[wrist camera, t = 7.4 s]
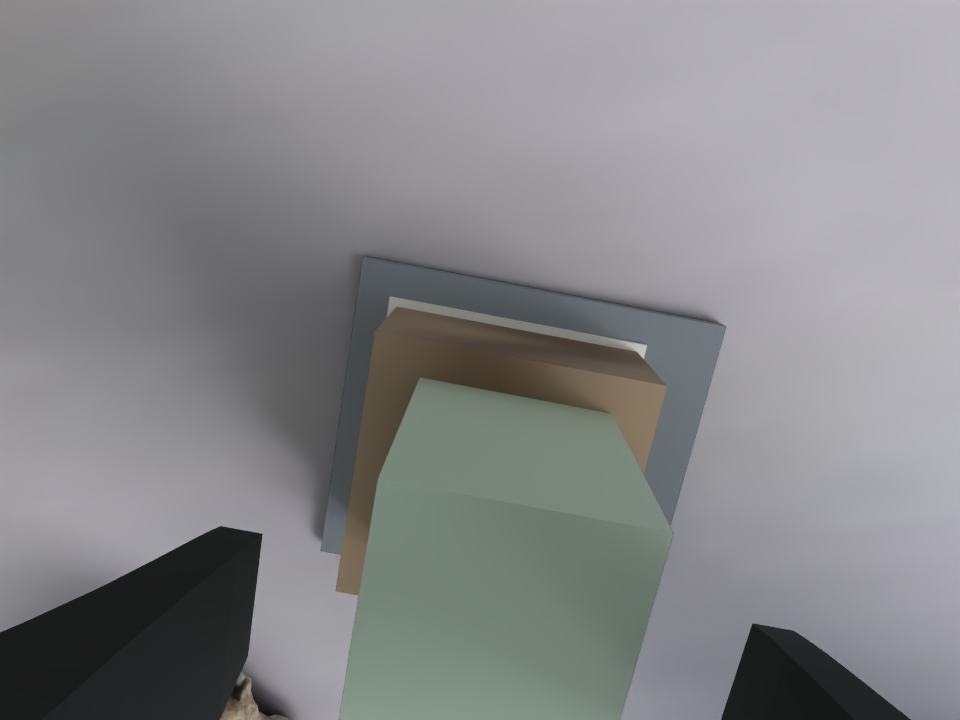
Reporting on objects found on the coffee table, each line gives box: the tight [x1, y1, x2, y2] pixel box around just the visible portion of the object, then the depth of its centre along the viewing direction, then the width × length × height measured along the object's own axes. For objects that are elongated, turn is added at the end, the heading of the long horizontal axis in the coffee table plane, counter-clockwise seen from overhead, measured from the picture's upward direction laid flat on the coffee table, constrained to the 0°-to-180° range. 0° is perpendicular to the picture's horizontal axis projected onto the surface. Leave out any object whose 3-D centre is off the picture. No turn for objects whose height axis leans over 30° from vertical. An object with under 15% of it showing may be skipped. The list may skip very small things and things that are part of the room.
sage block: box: [338, 378, 674, 720], centre depth 12 cm, size 4×4×5 cm
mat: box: [321, 256, 726, 555], centre depth 18 cm, size 9×8×1 cm
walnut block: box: [336, 307, 667, 595], centre depth 16 cm, size 6×6×3 cm
